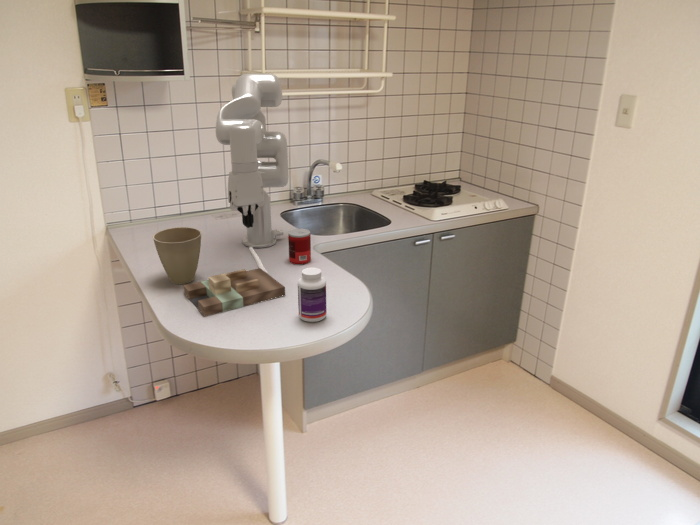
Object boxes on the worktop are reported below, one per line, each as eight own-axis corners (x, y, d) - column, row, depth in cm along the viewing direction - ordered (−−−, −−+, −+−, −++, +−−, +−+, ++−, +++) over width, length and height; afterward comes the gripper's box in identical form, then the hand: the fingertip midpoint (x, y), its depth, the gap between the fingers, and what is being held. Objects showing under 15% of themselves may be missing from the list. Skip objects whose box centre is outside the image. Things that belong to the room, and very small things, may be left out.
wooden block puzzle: (260, 276, 192) (259, 261, 190) (285, 295, 178) (284, 279, 176) (184, 294, 178) (182, 277, 176) (204, 316, 164) (203, 299, 162)
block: (224, 285, 177) (223, 273, 176) (231, 291, 174) (230, 279, 172) (209, 289, 175) (208, 277, 173) (215, 294, 171) (214, 282, 169)
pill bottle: (331, 318, 164) (331, 272, 158) (308, 326, 160) (307, 279, 154) (316, 308, 170) (316, 263, 165) (293, 315, 166) (292, 269, 160)
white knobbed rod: (242, 250, 216) (242, 243, 215) (253, 248, 217) (252, 241, 216) (256, 278, 191) (256, 270, 190) (268, 276, 193) (268, 268, 192)
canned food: (314, 259, 207) (314, 230, 203) (303, 266, 200) (303, 237, 196) (296, 255, 210) (295, 227, 206) (285, 263, 203) (284, 233, 199)
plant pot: (157, 274, 192) (151, 229, 186) (202, 268, 197) (198, 225, 191) (160, 292, 179) (154, 244, 173) (208, 285, 184) (204, 239, 178)
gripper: (262, 161, 174) (265, 219, 181) (215, 167, 166) (220, 227, 173) (273, 166, 168) (275, 225, 175) (225, 172, 160) (230, 234, 167)
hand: (248, 226), depth 174 cm, fingers closed
